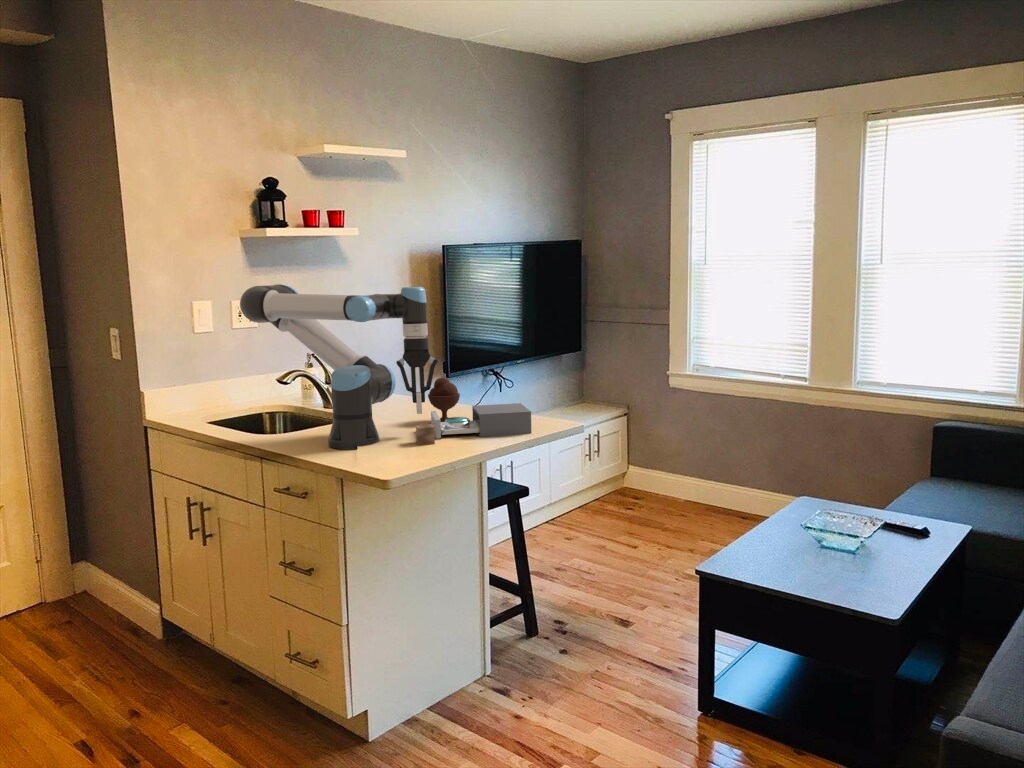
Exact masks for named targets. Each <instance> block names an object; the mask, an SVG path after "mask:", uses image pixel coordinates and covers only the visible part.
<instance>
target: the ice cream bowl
mask: <svg viewBox="0 0 1024 768" xmlns="http://www.w3.org/2000/svg"><path fill="white" fill-rule="evenodd" d="M427 397H428V401H429V403H430V405H432V406H433V408H435V409H437V410H439V411H441V417H439V418H440V422H445V420H446V419H447V418H449V417H448V410H450V409H453V408H454V407H455V406H456V405H457V404H458V402H459V401H460V397H461V394H460V392H459V390H458V388H457V385H455V383H453V382H451V381H450V380H449V379H448V378H446V377H438V378H437V379H436V380H435V381H434V383H433V387H432V388H430V390H429V392H428V393H427Z"/></svg>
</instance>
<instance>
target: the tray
mask: <svg viewBox="0 0 1024 768" xmlns="http://www.w3.org/2000/svg"><path fill="white" fill-rule="evenodd" d="M440 418H441V417H440V416H439V415H438V413H437V410H430V423H431V424H433V426H434V437H435V440H436V439H439V440H440V439H442V436H443V435H458V434H461V435H462V434H474V433H475V434H478V433H479V432H480V425H479V420H474V421H473V420H470V428H467V429H450V430H447V429H445V422H440Z"/></svg>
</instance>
